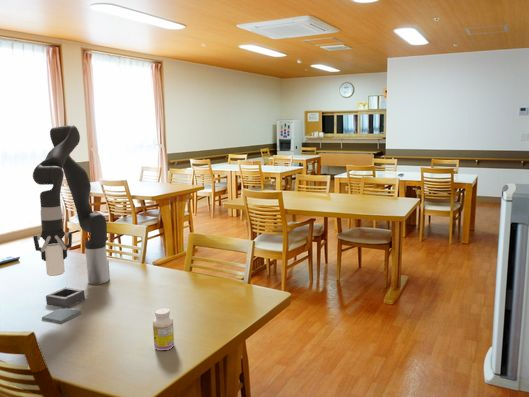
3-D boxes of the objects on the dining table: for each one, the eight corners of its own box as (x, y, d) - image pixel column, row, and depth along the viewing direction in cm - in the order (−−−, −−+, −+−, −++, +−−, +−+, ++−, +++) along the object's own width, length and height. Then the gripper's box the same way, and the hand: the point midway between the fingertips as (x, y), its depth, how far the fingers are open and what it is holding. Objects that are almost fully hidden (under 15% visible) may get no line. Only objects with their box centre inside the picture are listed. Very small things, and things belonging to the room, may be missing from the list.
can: (57, 276, 178) (55, 246, 177) (43, 275, 180) (40, 245, 178) (68, 271, 185) (66, 242, 183) (54, 270, 186) (51, 241, 184)
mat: (62, 309, 189) (61, 307, 189) (81, 313, 185) (80, 310, 185) (42, 319, 180) (41, 317, 180) (61, 323, 176) (61, 320, 176)
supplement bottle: (156, 342, 159) (153, 307, 157) (175, 341, 160) (173, 306, 158) (153, 352, 153) (150, 315, 150) (173, 351, 153) (171, 314, 151)
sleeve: (66, 295, 204) (65, 287, 204) (84, 299, 200) (84, 290, 200) (46, 304, 195) (45, 295, 194) (65, 308, 191) (65, 299, 190)
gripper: (29, 220, 173) (33, 264, 175) (71, 218, 178) (74, 260, 180) (32, 217, 180) (35, 259, 182) (72, 214, 185) (74, 255, 187)
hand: (54, 259), depth 181 cm, fingers closed on can, 6 cm apart
